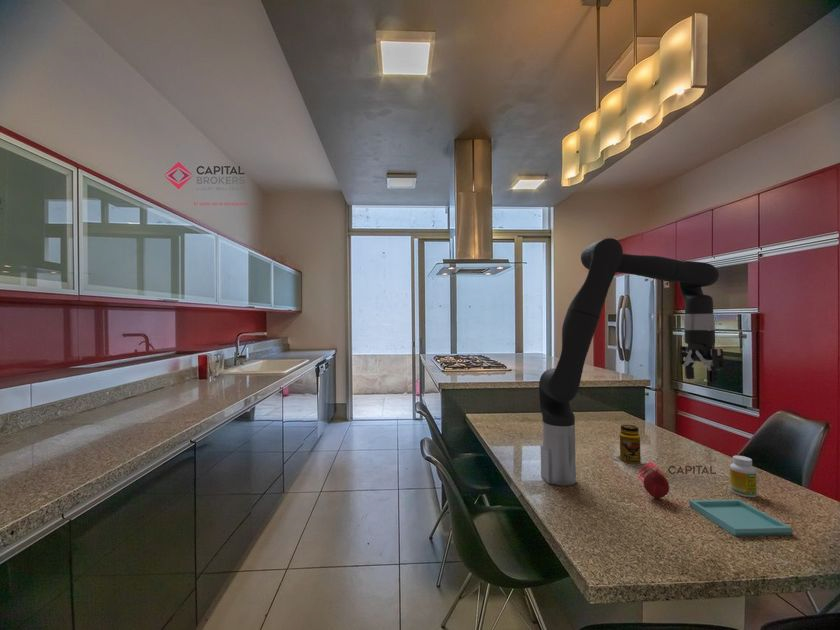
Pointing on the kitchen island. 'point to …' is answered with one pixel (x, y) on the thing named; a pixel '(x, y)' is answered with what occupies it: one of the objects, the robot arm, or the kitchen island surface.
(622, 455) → the condiment
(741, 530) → the tray
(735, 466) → the supplement bottle
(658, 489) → the dark red rounded piece
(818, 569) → the kitchen island surface
